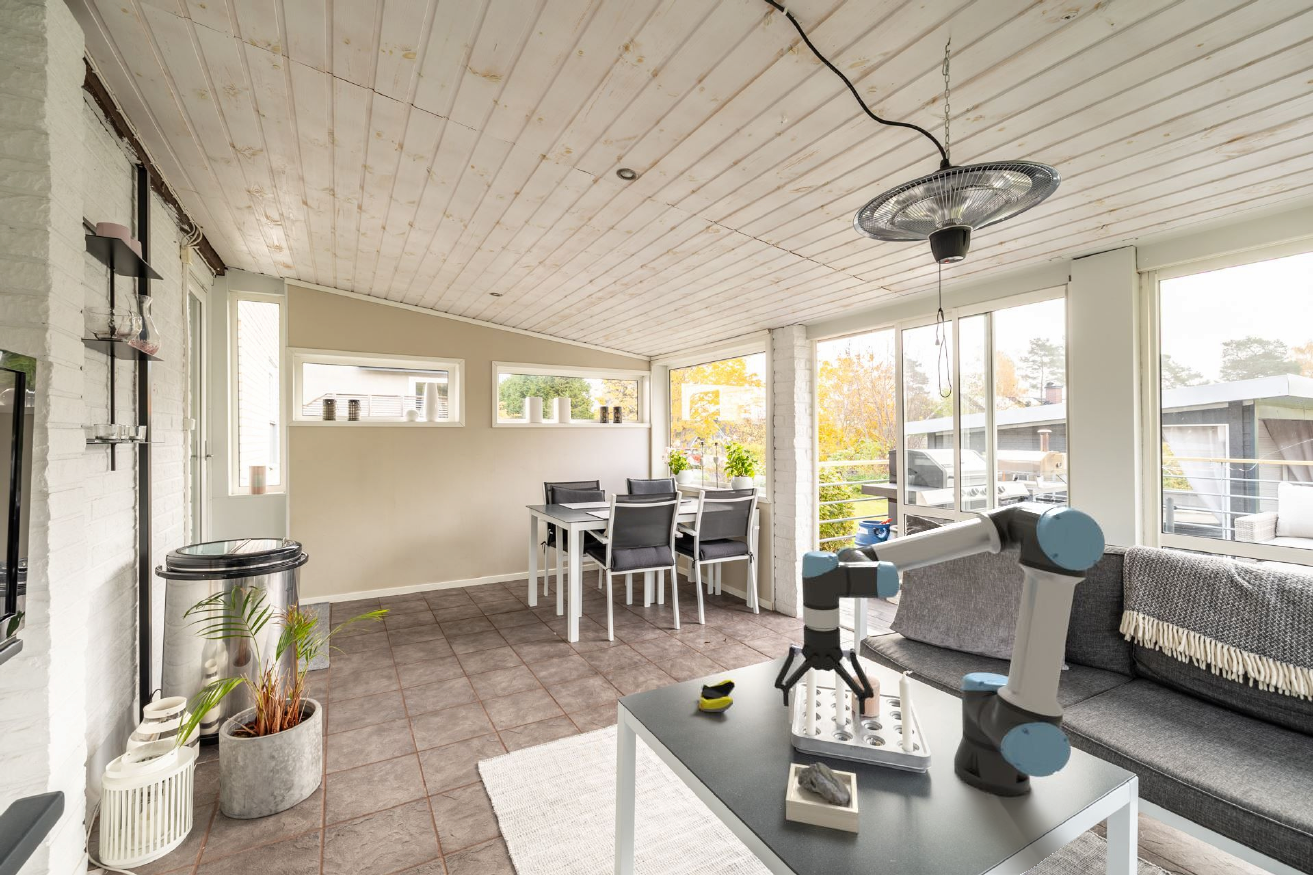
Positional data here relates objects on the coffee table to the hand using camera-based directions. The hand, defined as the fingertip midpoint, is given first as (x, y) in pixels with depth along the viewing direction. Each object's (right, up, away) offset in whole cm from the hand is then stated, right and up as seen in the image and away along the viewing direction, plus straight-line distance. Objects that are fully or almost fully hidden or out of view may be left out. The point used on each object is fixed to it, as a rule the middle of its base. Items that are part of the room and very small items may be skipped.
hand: (824, 724), depth 124 cm
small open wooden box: (0, -17, 0) cm, 17 cm away
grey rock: (0, -15, 0) cm, 15 cm away
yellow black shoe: (-18, -18, +46) cm, 53 cm away
